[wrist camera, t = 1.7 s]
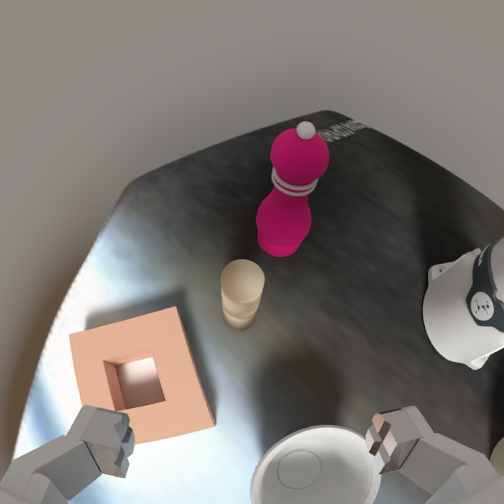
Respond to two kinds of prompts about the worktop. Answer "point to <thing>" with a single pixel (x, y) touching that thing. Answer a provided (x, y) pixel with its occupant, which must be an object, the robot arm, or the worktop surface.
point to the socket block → (167, 365)
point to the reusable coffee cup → (498, 457)
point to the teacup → (316, 469)
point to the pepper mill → (291, 189)
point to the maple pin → (241, 293)
